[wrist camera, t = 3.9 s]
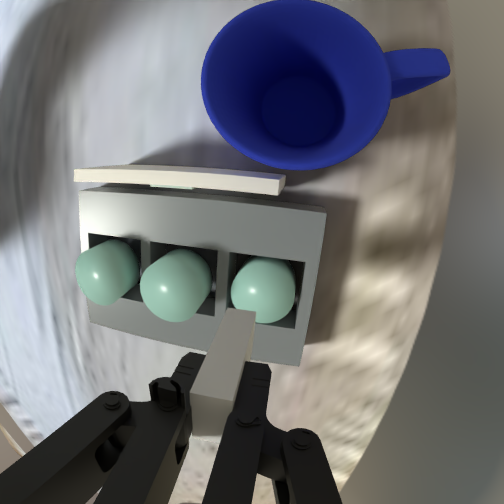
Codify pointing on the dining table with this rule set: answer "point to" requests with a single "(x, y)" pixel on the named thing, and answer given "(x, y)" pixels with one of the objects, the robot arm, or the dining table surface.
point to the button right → (265, 288)
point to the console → (209, 237)
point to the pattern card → (185, 177)
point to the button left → (107, 271)
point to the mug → (306, 83)
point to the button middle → (176, 285)
